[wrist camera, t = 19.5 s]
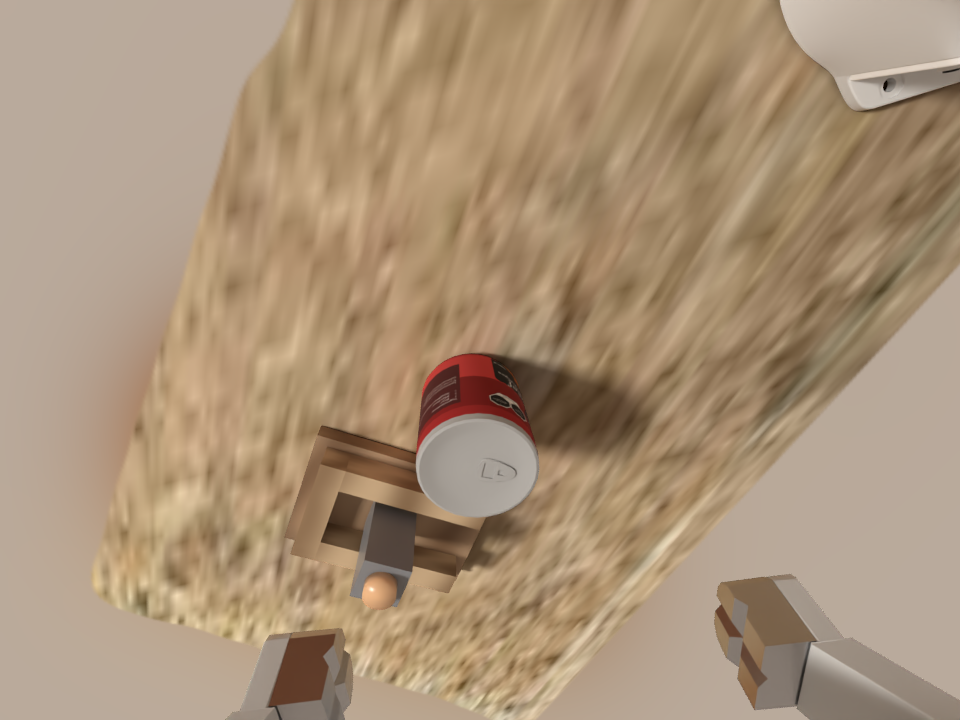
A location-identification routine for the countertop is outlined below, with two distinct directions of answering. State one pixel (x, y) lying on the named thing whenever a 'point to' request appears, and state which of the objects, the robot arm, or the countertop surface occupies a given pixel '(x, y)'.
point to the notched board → (348, 499)
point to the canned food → (474, 438)
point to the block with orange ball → (385, 556)
